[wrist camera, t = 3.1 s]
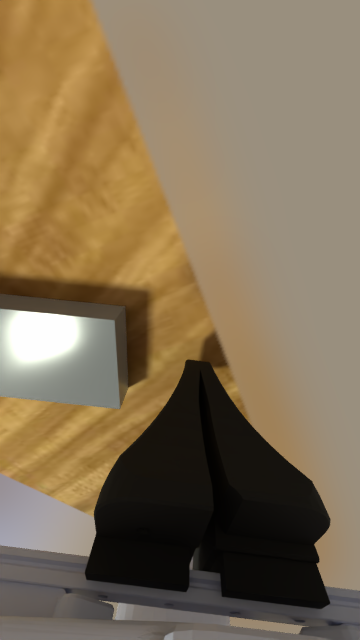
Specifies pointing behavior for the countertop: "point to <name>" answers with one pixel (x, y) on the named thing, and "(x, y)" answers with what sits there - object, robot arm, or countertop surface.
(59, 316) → the slate tile
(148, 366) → the countertop surface
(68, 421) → the countertop surface
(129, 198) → the countertop surface
